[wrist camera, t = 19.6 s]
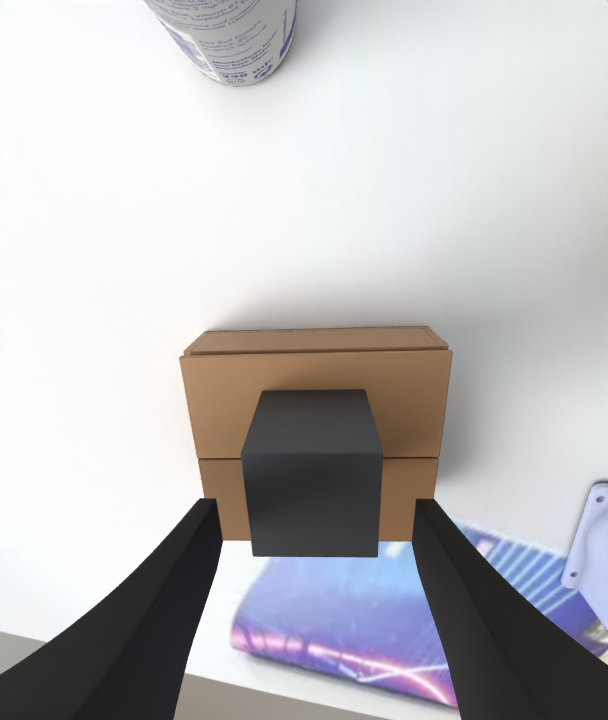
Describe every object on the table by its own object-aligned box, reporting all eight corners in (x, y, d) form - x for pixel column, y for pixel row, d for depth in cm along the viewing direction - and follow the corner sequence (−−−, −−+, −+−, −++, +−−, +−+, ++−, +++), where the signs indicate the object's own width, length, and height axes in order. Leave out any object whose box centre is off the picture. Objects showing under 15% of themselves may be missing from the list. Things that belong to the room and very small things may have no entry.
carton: (411, 491, 24) (429, 542, 20) (227, 492, 24) (210, 541, 20) (427, 325, 19) (454, 350, 16) (204, 331, 20) (177, 356, 16)
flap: (427, 537, 20) (428, 541, 20) (213, 536, 21) (211, 540, 20) (437, 455, 18) (438, 458, 18) (199, 456, 19) (197, 459, 18)
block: (362, 473, 18) (378, 558, 14) (269, 473, 19) (252, 557, 14) (365, 388, 16) (383, 452, 12) (261, 390, 17) (239, 453, 12)
